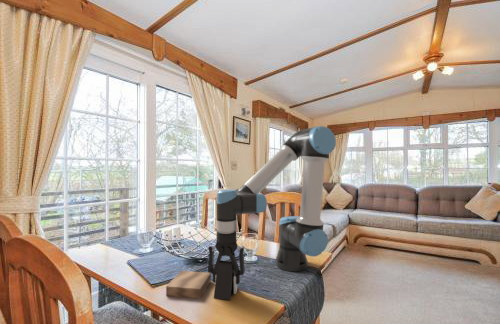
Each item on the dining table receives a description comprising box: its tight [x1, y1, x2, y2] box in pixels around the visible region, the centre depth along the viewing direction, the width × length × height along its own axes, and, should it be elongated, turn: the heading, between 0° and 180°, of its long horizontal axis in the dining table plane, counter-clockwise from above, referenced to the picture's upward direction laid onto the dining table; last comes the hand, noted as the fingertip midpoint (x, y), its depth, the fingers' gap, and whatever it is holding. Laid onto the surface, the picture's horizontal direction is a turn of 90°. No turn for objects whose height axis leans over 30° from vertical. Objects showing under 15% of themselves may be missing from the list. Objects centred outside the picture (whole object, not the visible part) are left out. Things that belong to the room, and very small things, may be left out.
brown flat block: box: [165, 270, 212, 299], centre depth 98 cm, size 13×13×4 cm
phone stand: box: [213, 259, 235, 301], centre depth 95 cm, size 9×6×12 cm, turn 164°
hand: (226, 291), depth 95 cm, fingers closed on phone stand, 6 cm apart
